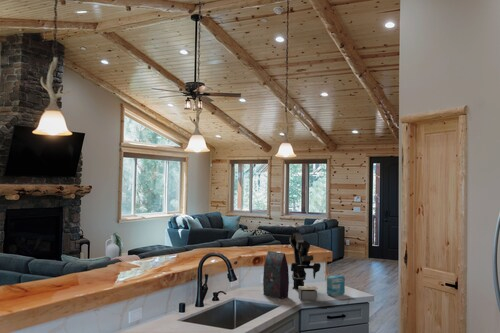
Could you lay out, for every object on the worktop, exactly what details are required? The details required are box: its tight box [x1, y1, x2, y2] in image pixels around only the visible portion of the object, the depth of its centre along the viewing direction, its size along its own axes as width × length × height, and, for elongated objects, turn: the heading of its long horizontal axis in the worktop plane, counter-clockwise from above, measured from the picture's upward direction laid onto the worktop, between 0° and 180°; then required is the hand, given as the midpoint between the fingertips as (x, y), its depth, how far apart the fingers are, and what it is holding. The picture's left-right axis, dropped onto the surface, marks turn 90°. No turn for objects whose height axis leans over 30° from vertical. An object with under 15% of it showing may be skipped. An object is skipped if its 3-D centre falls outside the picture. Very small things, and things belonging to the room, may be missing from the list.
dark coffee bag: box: [262, 250, 290, 300], centre depth 289 cm, size 8×16×28 cm, turn 41°
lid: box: [298, 285, 318, 291], centre depth 280 cm, size 8×10×1 cm
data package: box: [326, 274, 346, 297], centre depth 294 cm, size 12×4×12 cm, turn 124°
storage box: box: [298, 289, 318, 302], centre depth 280 cm, size 8×10×6 cm
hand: (307, 278), depth 282 cm, fingers open, 9 cm apart
